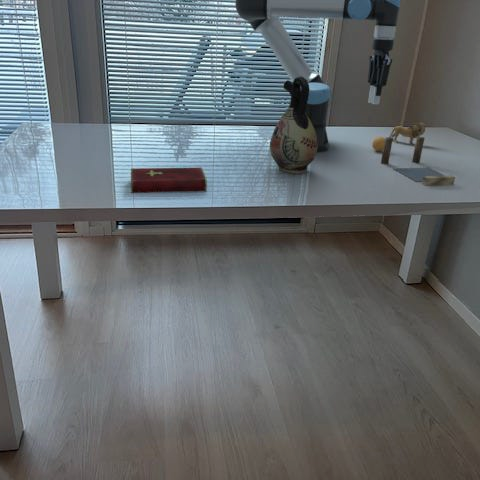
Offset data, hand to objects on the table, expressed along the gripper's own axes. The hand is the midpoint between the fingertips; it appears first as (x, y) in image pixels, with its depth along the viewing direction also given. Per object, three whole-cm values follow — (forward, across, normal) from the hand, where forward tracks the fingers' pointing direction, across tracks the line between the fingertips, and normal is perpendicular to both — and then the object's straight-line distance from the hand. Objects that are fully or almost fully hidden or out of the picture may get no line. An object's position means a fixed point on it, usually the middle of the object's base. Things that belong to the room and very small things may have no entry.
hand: (373, 103), depth 190 cm
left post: (+17, -26, +6) cm, 31 cm away
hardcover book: (+17, -40, +85) cm, 96 cm away
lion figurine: (+17, +2, -19) cm, 25 cm away
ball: (+14, -10, 0) cm, 17 cm away
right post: (+17, -26, -6) cm, 31 cm away
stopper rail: (+17, -50, +1) cm, 52 cm away
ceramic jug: (+17, -30, +43) cm, 55 cm away
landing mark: (+17, -40, 0) cm, 43 cm away
